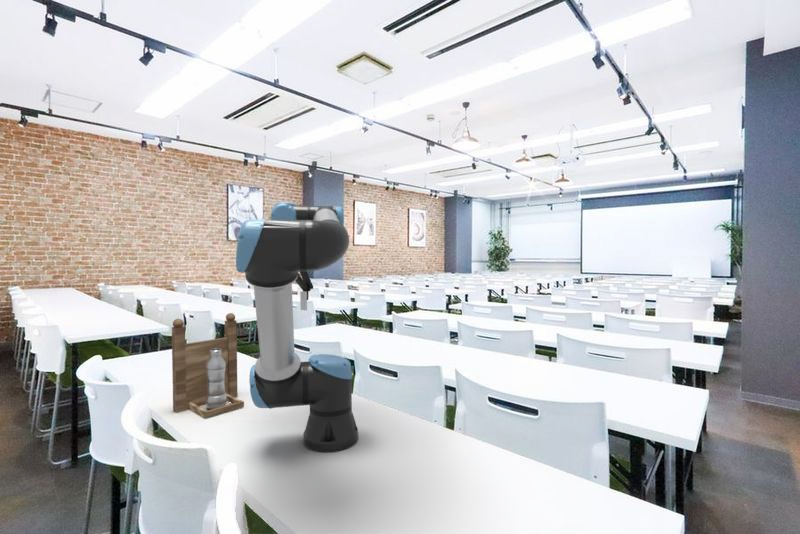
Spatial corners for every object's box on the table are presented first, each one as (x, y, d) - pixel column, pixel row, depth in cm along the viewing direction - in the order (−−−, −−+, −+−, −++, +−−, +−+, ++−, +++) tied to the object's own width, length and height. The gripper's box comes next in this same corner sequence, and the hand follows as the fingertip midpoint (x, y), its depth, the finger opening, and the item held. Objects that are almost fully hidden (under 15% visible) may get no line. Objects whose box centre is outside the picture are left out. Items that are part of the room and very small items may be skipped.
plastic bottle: (219, 412, 136) (218, 352, 136) (201, 410, 138) (200, 351, 137) (230, 405, 143) (230, 347, 142) (213, 403, 144) (212, 346, 144)
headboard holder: (255, 404, 144) (254, 316, 143) (191, 422, 128) (190, 323, 127) (233, 394, 154) (232, 312, 153) (172, 410, 138) (171, 318, 137)
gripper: (309, 249, 150) (310, 307, 151) (245, 248, 132) (246, 314, 132) (322, 249, 145) (323, 309, 146) (258, 248, 127) (259, 317, 127)
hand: (286, 312), depth 139 cm, fingers open, 13 cm apart
